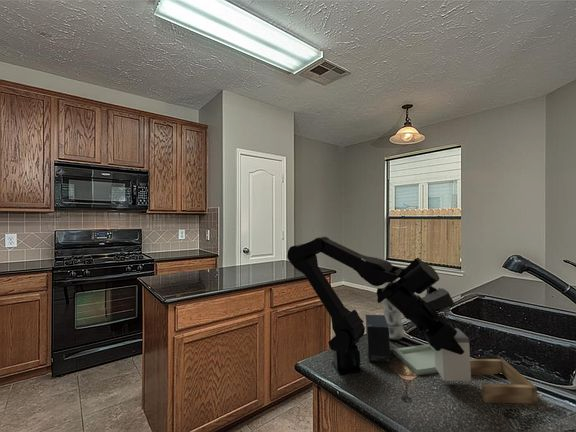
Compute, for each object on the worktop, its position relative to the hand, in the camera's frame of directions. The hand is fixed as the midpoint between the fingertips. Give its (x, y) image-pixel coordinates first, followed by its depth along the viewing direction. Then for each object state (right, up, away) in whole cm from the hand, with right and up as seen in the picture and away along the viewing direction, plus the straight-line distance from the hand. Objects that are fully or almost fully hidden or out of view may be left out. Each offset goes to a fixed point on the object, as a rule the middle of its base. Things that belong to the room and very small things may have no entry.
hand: (456, 347), depth 72 cm
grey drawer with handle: (-1, -7, 0) cm, 7 cm away
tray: (-2, -10, +13) cm, 16 cm away
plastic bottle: (-5, -10, +29) cm, 31 cm away
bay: (+8, -9, -1) cm, 12 cm away
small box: (-14, -11, +18) cm, 25 cm away
